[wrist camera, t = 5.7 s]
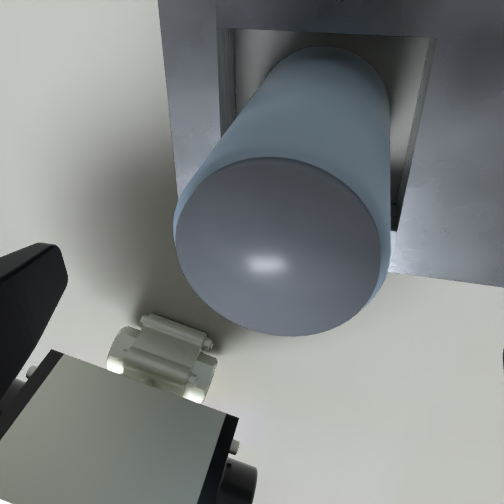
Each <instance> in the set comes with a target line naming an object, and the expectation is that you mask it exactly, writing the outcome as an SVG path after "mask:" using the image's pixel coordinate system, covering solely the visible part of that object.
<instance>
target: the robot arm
mask: <svg viewBox="0 0 504 504" xmlns="http://www.w3.org/2000/svg"><path fill="white" fill-rule="evenodd" d="M67 283H68V275H67V271H66V267H65V264H64V260H63V257H62V253H61V250H60V249H59V247H58V246H56V245H54V244H47V243H35V244H33V245H30V246H28V247H25V248H23V249H20V250H18V251H15V252H13V253H10V254H8V255H5V256H3V257H0V401H1V400H2V398H3V397H4V395H5V394H6V392H7V391H8V389H9V387H10V386H11V384H12V383H13V381H14V380H15V378H16V377H17V375H18V374H19V372H20V370H21V369H22V367H23V366H24V364H25V363H26V361H27V360H28V358H29V357H30V355H31V353H32V352H33V350H34V348H35V347H36V345H37V343H38V341H39V340H40V338H41V336H42V334H43V332H44V330H45V328H46V326H47V324H48V322H49V320H50V318H51V316H52V314H53V312H54V310H55V308H56V306H57V304H58V302H59V300H60V298H61V296H62V294H63V292H64V290H65V289H66V286H67ZM503 367H504V350H503Z"/></svg>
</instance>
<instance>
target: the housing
mask: <svg viewBox="0 0 504 504" xmlns="http://www.w3.org/2000/svg"><path fill="white" fill-rule="evenodd" d="M158 7H159V17H160V27H161V36H162V46H163V56H164V66H165V76H166V85H167V95H168V105H169V115H170V124H171V134H172V144H173V154H174V164H175V173H176V183H177V193H178V200H179V198H180V196H181V194H182V191H183V190H184V188H185V187H186V185H187V184H188V182H189V181H190V180H191V178H192V177H193V176H194V174H195V173H196V172H197V170H198V169H199V167H200V166H201V165H202V163H203V162H204V161H205V159H206V158H207V157H208V155H209V154H210V153H211V151H212V150H213V149H214V147H215V146H216V145H217V143H218V142H219V140H220V139H221V138H222V136H223V135H224V134H225V132H226V131H227V130H228V128H229V127H230V126H231V124H232V123H233V122H234V120H235V70H234V28H238V29H259V30H281V31H302V32H323V33H344V34H366V35H387V36H408V37H430V41H429V46H428V51H427V56H426V60H425V65H424V70H423V75H422V80H421V85H420V90H419V95H418V100H417V105H416V110H415V115H414V120H413V125H412V130H411V135H410V140H409V145H408V150H407V155H406V160H405V165H404V170H403V175H402V180H401V185H400V189H399V194H398V199H397V204H390V216H391V255H390V263H389V268H388V271H387V272H394V273H402V274H409V275H416V276H424V277H431V278H438V279H446V280H453V281H460V282H468V283H475V284H482V285H490V286H497V287H504V0H158Z"/></svg>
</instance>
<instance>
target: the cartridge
mask: <svg viewBox="0 0 504 504" xmlns="http://www.w3.org/2000/svg"><path fill="white" fill-rule="evenodd" d="M173 236H174V242H175V247H176V252H177V258H178V261H179V264H180V267H181V269H182V271H183V274H184V276H185V278H186V279H187V281H188V282H189V284H190V286H191V287H192V289H193V290H194V291H195V292H196V293H197V295H198V296H199V297H200V298H201V299H202V300H203V301H204V302H205V303H206V304H207V305H208V306H210V307H211V308H212V309H213V310H214V311H216V312H217V313H219V314H220V315H222V316H223V317H225V318H226V319H228V320H230V321H232V322H234V323H236V324H238V325H240V326H243V327H245V328H247V329H250V330H254V331H257V332H260V333H265V334H270V335H277V336H307V335H312V334H318V333H321V332H325V331H328V330H330V329H333V328H335V327H337V326H340V325H341V324H343V323H345V322H346V321H348V320H350V319H351V318H352V317H353V316H355V315H356V314H357V313H358V312H359V311H360V310H361V309H362V308H364V307H365V306H366V305H367V304H368V303H369V302H370V301H371V300H372V299H373V298H374V296H375V295H376V293H377V292H378V291H379V289H380V288H381V286H382V284H383V282H384V280H385V277H386V274H387V271H388V268H389V263H390V255H391V216H390V104H389V98H388V94H387V91H386V88H385V85H384V83H383V81H382V79H381V78H380V76H379V75H378V73H377V72H376V71H375V70H374V68H373V67H372V66H371V65H370V64H369V63H367V62H366V61H365V60H364V59H363V58H361V57H359V56H358V55H356V54H354V53H352V52H350V51H347V50H345V49H341V48H337V47H330V46H317V47H310V48H306V49H303V50H299V51H297V52H295V53H293V54H291V55H289V56H288V57H286V58H284V59H283V60H282V61H281V62H279V63H278V64H277V65H276V66H275V67H274V68H273V69H272V70H271V72H270V73H269V74H268V76H267V77H266V78H265V80H264V81H263V82H262V84H261V85H260V86H259V88H258V89H257V90H256V92H255V93H254V95H253V96H252V97H251V99H250V100H249V101H248V103H247V104H246V105H245V107H244V108H243V109H242V111H241V112H240V113H239V115H238V116H237V117H236V119H235V120H234V122H233V123H232V124H231V126H230V127H229V128H228V130H227V131H226V132H225V134H224V135H223V136H222V138H221V139H220V140H219V142H218V143H217V145H216V146H215V147H214V149H213V150H212V151H211V153H210V154H209V155H208V157H207V158H206V159H205V161H204V162H203V163H202V165H201V166H200V167H199V169H198V170H197V172H196V173H195V174H194V176H193V177H192V178H191V180H190V181H189V182H188V184H187V185H186V187H185V188H184V190H183V191H182V194H181V196H180V198H179V200H178V202H177V206H176V209H175V213H174V221H173Z"/></svg>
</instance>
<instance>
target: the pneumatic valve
mask: <svg viewBox="0 0 504 504" xmlns="http://www.w3.org/2000/svg"><path fill="white" fill-rule="evenodd" d="M139 326H141V327H143V328H142V329H141V331H140V330H138V329H135V328H132V327H129V326H128V327H124V328H122V329H121V330H120V331H119V333H118V334H117V336H116V338H115V340H114V342H113V344H112V346H111V348H110V351H109V354H108V358H107V368H108V370H107V369H104V368H101V367H99V366H96V365H93V364H91V363H88V362H85V361H82V360H80V359H77V358H74V357H71V356H69V355H66V354H63V353H61V352H58V351H55V350H52V349H51V351H50V352H49V353H48V354H47V356H46V357H45V358H44V360H43V361H42V362H41V363H40V365H39V366H38V367H36V366H31V367H30V368H29V369H28V371H27V373H26V378H28V380H27V382H24V381H21V380H18V379H16V378H15V380H14V381H13V383H12V384H11V386H10V387H9V389H8V391H7V392H6V394H5V395H4V397H3V398H2V400H1V401H0V504H252V503H253V498H254V494H255V488H256V483H257V469H256V468H255V467H253V466H250V465H248V464H245V463H242V462H240V461H237V460H234V459H232V458H229V457H228V453H231V454H233V455H236V453H237V451H238V448H239V444H240V442H239V441H236V440H234V439H233V437H234V433H235V430H236V426H237V423H238V420H239V418H237V417H235V416H232V415H229V414H227V413H224V412H221V411H218V410H216V409H213V408H210V407H208V406H205V405H202V404H200V403H202V402H204V399H205V397H206V394H207V391H208V389H209V386H210V383H211V380H212V378H213V375H214V372H215V369H216V366H217V363H218V361H217V359H216V358H215V357H212V356H209V355H206V354H204V353H201V350H203V349H204V350H207V351H208V349H209V348H210V349H211V348H212V346H213V342H211V341H212V339H210V338H207V336H206V334H207V333H204V332H201V331H199V330H196V329H193V328H190V327H188V326H185V325H182V324H179V323H177V322H174V321H171V320H168V319H166V318H163V317H160V316H157V315H155V314H152V313H150V314H149V315H148V316H147V315H143V316H142V318H141V320H140V323H139Z"/></svg>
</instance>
